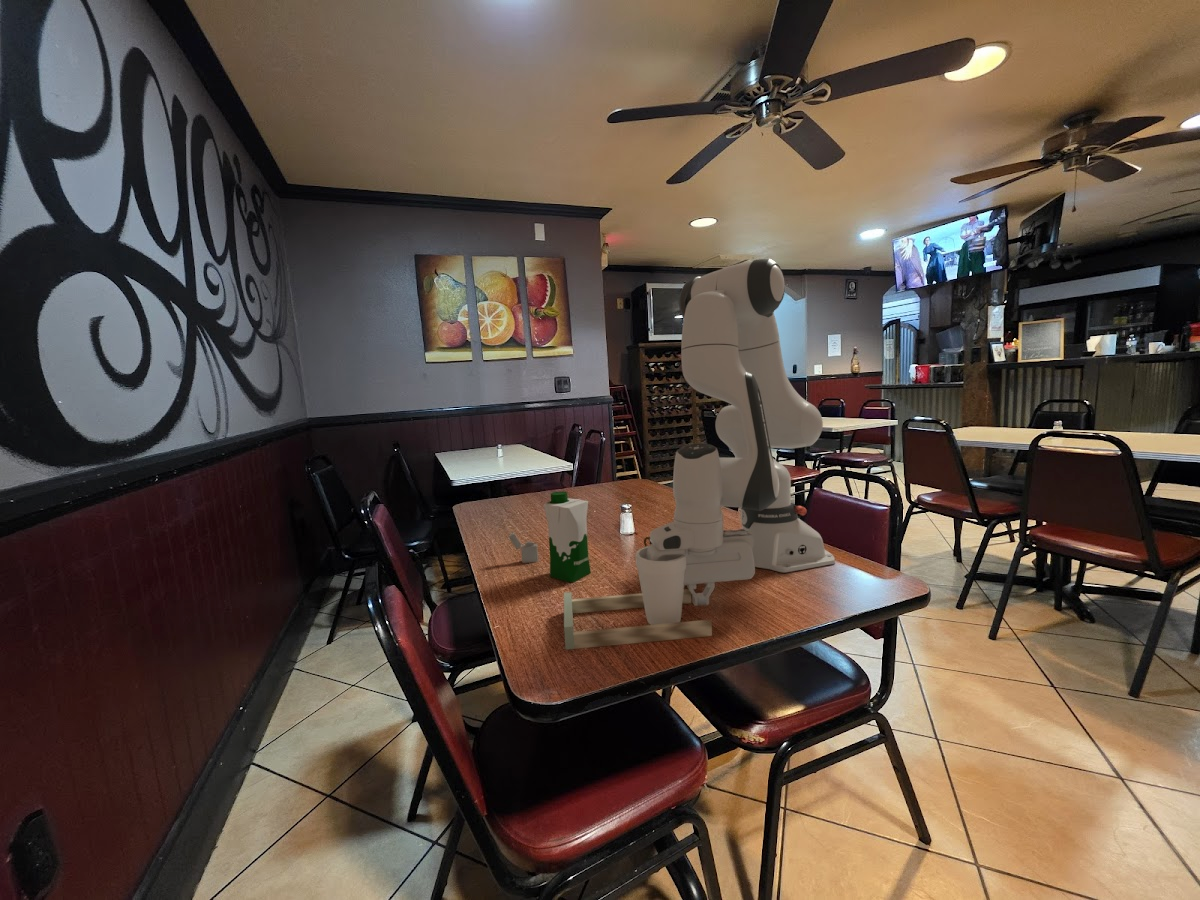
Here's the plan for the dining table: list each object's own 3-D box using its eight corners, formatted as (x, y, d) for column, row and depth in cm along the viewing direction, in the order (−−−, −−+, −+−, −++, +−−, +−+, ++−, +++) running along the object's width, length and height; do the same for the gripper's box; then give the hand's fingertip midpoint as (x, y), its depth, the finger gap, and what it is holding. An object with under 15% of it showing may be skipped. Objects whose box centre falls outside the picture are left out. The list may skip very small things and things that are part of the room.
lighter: (538, 559, 123) (536, 530, 122) (537, 561, 121) (535, 532, 120) (511, 561, 123) (509, 532, 122) (510, 564, 121) (508, 534, 120)
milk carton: (568, 565, 117) (563, 488, 115) (596, 572, 112) (592, 491, 109) (544, 577, 110) (538, 496, 108) (573, 585, 105) (567, 499, 102)
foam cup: (652, 637, 81) (648, 565, 79) (630, 614, 89) (627, 550, 88) (698, 625, 84) (696, 556, 82) (673, 604, 93) (671, 542, 91)
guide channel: (689, 600, 94) (689, 589, 94) (711, 635, 80) (711, 622, 80) (572, 611, 92) (571, 599, 92) (574, 648, 78) (573, 634, 78)
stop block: (572, 611, 92) (571, 592, 92) (574, 648, 78) (573, 626, 78) (565, 611, 92) (563, 592, 92) (565, 649, 78) (564, 627, 78)
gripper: (746, 523, 89) (747, 592, 91) (641, 532, 87) (644, 601, 89) (760, 533, 83) (761, 606, 84) (648, 542, 81) (651, 616, 82)
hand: (700, 604), depth 86 cm, fingers closed
